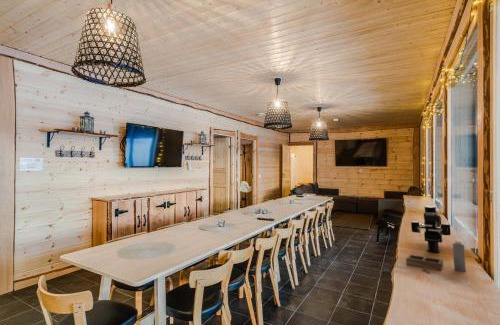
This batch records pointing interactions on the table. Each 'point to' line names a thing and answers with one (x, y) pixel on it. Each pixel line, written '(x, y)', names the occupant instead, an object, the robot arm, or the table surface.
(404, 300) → the table surface
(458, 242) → the slate plug
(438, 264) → the box
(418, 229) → the robot arm
